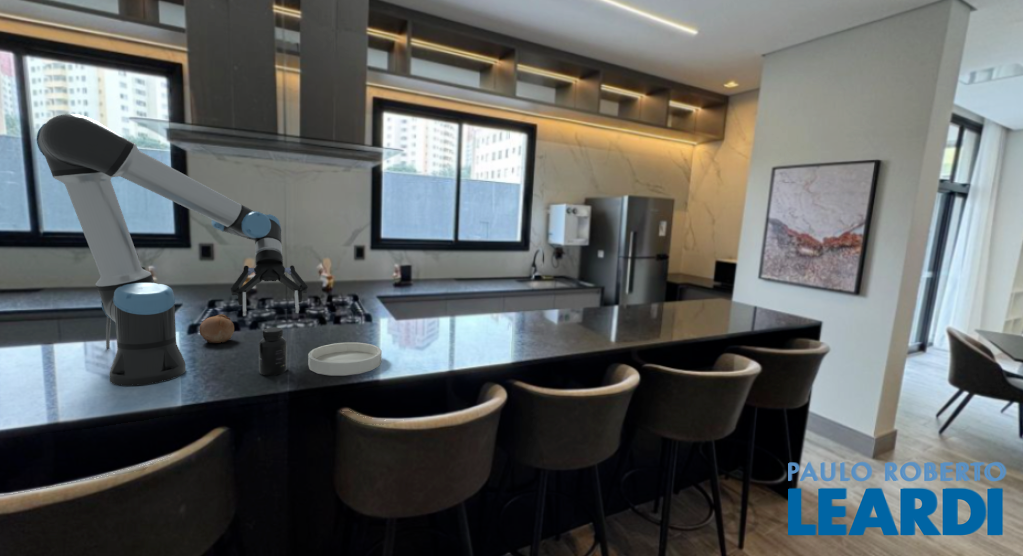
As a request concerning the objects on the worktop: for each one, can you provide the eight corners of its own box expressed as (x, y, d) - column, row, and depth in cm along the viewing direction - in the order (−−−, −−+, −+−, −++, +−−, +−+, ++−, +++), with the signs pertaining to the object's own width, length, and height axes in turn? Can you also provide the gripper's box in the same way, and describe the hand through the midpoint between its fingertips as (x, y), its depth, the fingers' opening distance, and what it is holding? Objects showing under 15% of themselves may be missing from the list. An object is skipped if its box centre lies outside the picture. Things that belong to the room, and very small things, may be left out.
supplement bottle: (253, 374, 118) (251, 330, 116) (272, 366, 124) (271, 325, 123) (274, 377, 116) (273, 333, 115) (292, 369, 123) (292, 328, 121)
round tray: (313, 379, 116) (313, 366, 116) (305, 357, 133) (305, 346, 133) (388, 370, 126) (388, 358, 126) (372, 350, 143) (372, 340, 143)
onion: (224, 347, 147) (234, 318, 151) (232, 346, 141) (242, 316, 144) (192, 341, 141) (202, 311, 145) (198, 339, 135) (209, 308, 138)
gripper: (311, 263, 147) (316, 316, 136) (222, 263, 134) (221, 321, 124) (312, 248, 142) (319, 302, 131) (221, 247, 129) (219, 307, 118)
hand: (271, 312), depth 127 cm, fingers open, 13 cm apart
